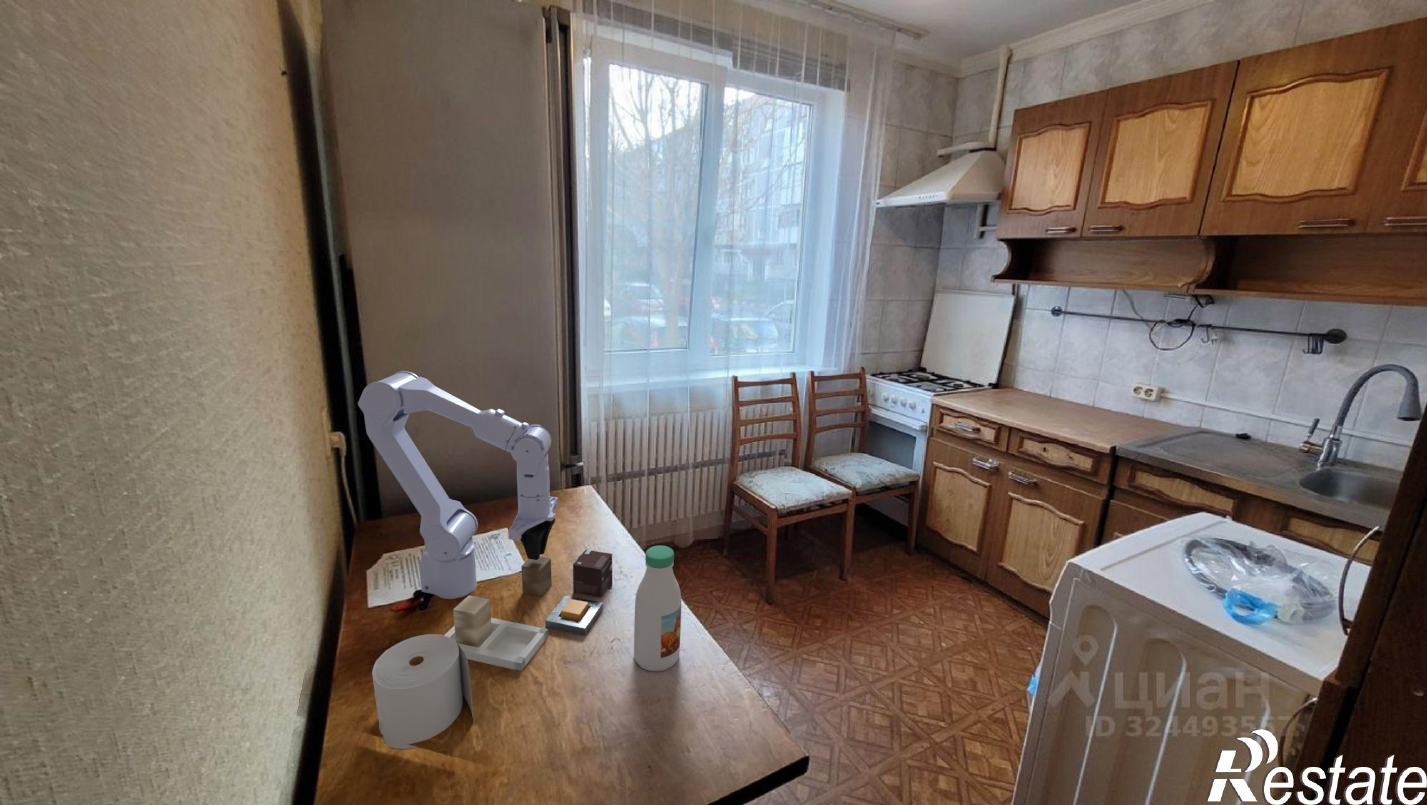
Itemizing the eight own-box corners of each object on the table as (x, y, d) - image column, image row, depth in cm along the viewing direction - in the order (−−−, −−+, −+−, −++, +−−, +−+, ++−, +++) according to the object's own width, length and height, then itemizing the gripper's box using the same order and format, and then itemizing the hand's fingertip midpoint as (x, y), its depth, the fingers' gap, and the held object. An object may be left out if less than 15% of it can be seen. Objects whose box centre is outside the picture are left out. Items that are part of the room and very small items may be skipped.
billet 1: (456, 645, 91) (453, 609, 89) (471, 630, 95) (468, 595, 93) (477, 650, 90) (474, 613, 89) (491, 634, 94) (489, 599, 92)
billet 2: (522, 597, 106) (521, 566, 104) (533, 586, 110) (532, 555, 108) (541, 601, 105) (540, 569, 103) (551, 589, 109) (550, 558, 107)
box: (601, 602, 106) (601, 569, 104) (572, 597, 107) (571, 564, 105) (612, 585, 112) (613, 553, 110) (585, 580, 113) (585, 548, 111)
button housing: (545, 632, 97) (545, 620, 96) (565, 606, 104) (565, 595, 103) (585, 640, 95) (585, 628, 95) (602, 614, 103) (602, 602, 102)
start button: (561, 625, 98) (560, 610, 98) (570, 612, 102) (570, 598, 101) (579, 628, 98) (579, 614, 97) (588, 616, 101) (588, 602, 100)
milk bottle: (643, 678, 88) (645, 569, 82) (627, 648, 94) (629, 544, 89) (686, 664, 91) (691, 558, 86) (668, 636, 98) (672, 536, 93)
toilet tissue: (385, 700, 81) (377, 643, 78) (473, 679, 86) (468, 624, 83) (374, 760, 72) (365, 698, 69) (474, 733, 76) (469, 673, 74)
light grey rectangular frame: (436, 656, 90) (434, 644, 89) (468, 624, 98) (467, 612, 97) (521, 676, 87) (521, 663, 86) (548, 641, 95) (547, 629, 94)
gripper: (532, 511, 94) (535, 579, 98) (571, 479, 108) (572, 540, 111) (496, 505, 96) (499, 573, 99) (538, 474, 109) (540, 535, 113)
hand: (536, 555), depth 105 cm, fingers closed
